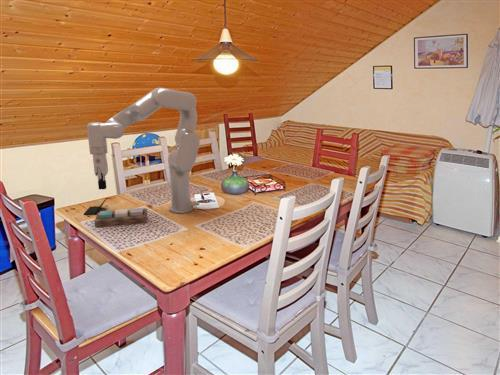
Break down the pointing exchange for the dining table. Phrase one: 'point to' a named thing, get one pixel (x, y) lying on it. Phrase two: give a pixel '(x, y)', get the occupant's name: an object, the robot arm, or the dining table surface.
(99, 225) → the key panel
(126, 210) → the cream key
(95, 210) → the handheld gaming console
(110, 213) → the teal square block
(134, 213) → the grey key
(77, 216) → the dining table surface
